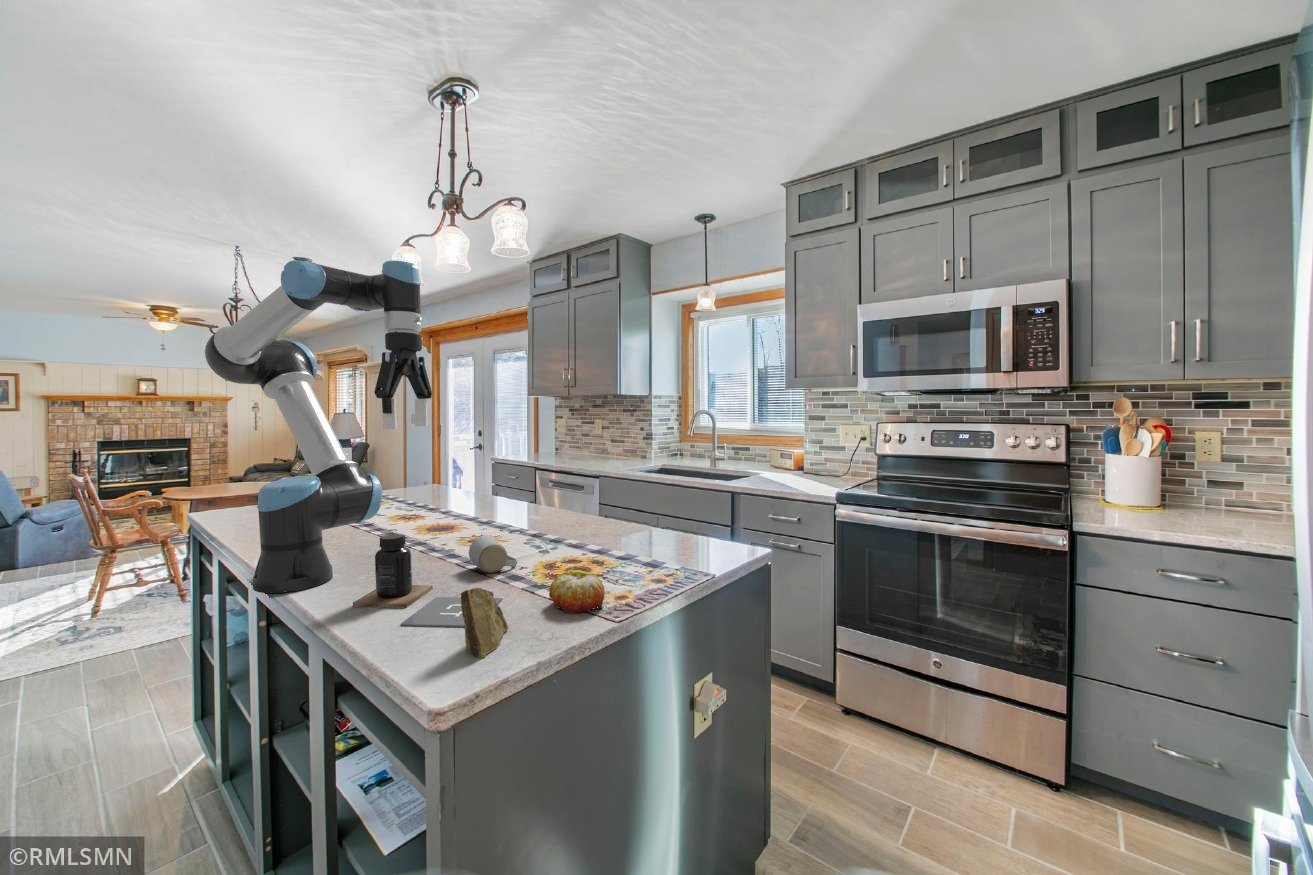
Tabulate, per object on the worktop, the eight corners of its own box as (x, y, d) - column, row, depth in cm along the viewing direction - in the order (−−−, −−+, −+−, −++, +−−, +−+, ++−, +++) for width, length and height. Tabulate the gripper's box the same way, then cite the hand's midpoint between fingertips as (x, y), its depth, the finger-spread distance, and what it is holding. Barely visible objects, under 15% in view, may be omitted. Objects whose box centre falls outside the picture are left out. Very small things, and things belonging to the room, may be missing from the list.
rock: (493, 610, 102) (442, 619, 94) (513, 578, 99) (463, 585, 91) (519, 660, 96) (468, 674, 88) (542, 627, 93) (491, 639, 85)
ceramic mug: (479, 577, 129) (478, 544, 128) (468, 568, 135) (468, 537, 135) (522, 569, 135) (522, 538, 134) (510, 561, 141) (510, 531, 141)
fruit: (537, 610, 107) (542, 567, 109) (563, 607, 116) (567, 568, 118) (589, 616, 103) (594, 572, 105) (612, 613, 113) (616, 572, 114)
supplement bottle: (419, 591, 116) (417, 535, 116) (388, 601, 111) (386, 542, 110) (399, 585, 120) (397, 531, 119) (369, 595, 114) (366, 537, 114)
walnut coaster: (352, 606, 110) (352, 602, 110) (383, 587, 121) (383, 584, 121) (406, 607, 109) (406, 603, 109) (432, 588, 120) (432, 585, 120)
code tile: (400, 625, 101) (400, 623, 101) (436, 598, 115) (436, 596, 115) (475, 627, 100) (475, 625, 100) (502, 599, 114) (502, 597, 114)
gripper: (388, 325, 112) (392, 430, 113) (444, 339, 137) (447, 425, 138) (352, 325, 113) (357, 430, 114) (415, 339, 137) (418, 425, 139)
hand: (406, 427), depth 126 cm, fingers open, 13 cm apart
